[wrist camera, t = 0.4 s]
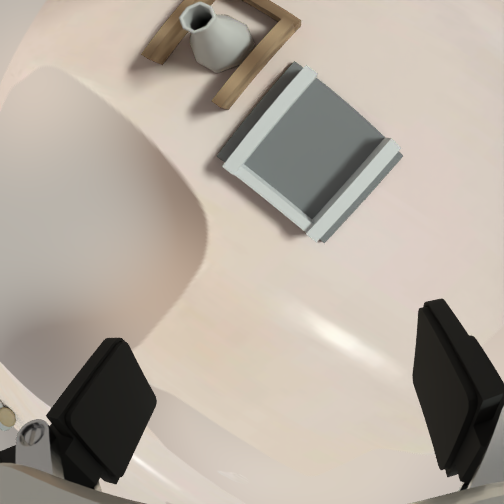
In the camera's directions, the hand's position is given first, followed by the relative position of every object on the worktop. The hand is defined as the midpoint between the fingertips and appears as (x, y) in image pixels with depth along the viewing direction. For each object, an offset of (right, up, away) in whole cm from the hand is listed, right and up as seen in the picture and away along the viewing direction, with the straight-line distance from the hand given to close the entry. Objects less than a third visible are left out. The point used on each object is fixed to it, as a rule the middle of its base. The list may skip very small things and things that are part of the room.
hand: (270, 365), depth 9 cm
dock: (+6, +14, +25) cm, 29 cm away
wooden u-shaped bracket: (-4, +27, +21) cm, 35 cm away
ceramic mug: (-83, -49, +63) cm, 115 cm away
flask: (-4, +27, +21) cm, 35 cm away
